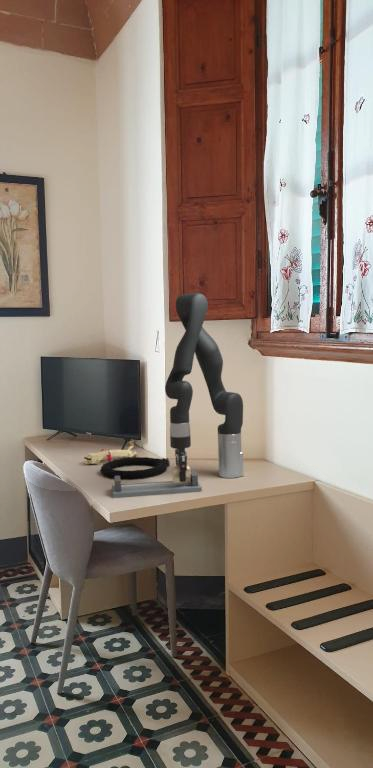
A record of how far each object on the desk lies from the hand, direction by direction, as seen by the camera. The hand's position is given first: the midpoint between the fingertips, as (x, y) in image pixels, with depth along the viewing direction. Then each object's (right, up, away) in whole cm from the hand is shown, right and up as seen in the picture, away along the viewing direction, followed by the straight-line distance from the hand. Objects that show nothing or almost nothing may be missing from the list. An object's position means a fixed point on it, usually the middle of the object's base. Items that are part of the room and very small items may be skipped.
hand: (181, 479), depth 241 cm
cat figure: (-32, 0, +50) cm, 60 cm away
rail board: (-9, -4, -1) cm, 10 cm away
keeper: (0, -1, 0) cm, 1 cm away
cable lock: (-19, -2, +30) cm, 35 cm away
